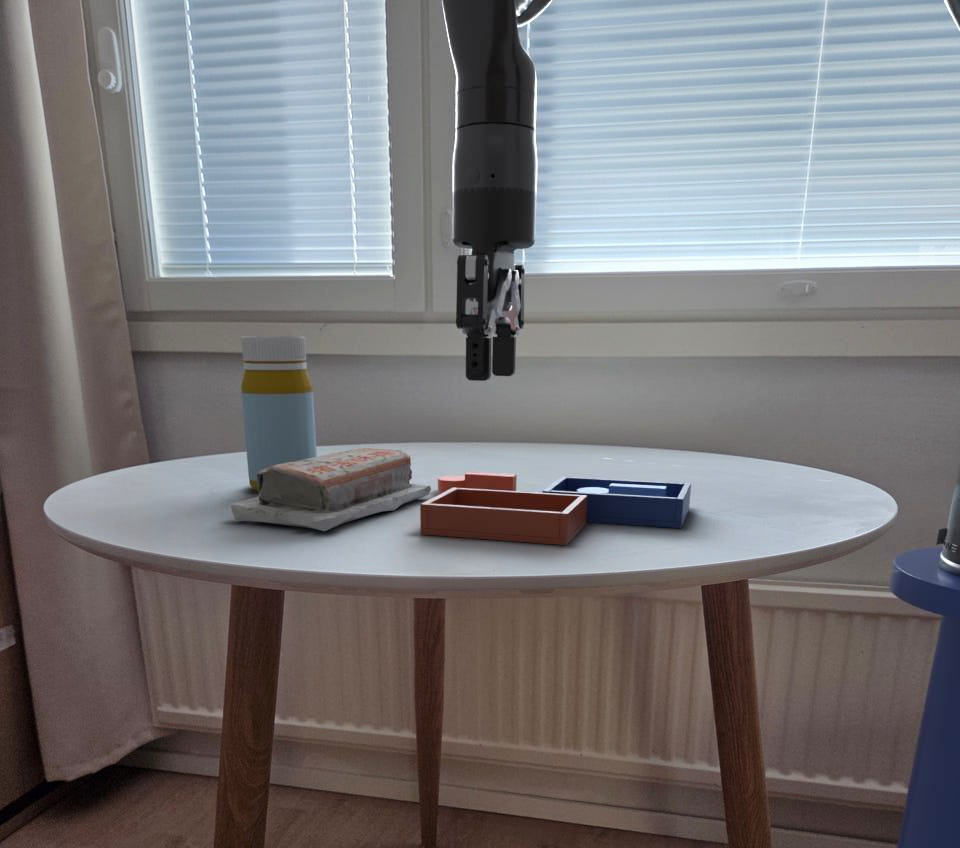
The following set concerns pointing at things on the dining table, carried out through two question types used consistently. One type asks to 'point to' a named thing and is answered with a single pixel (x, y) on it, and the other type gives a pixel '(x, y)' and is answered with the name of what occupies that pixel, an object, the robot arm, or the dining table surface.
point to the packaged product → (331, 489)
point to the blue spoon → (628, 490)
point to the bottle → (276, 402)
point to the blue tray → (629, 502)
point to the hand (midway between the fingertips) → (491, 378)
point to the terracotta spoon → (478, 481)
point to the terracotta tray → (504, 515)
